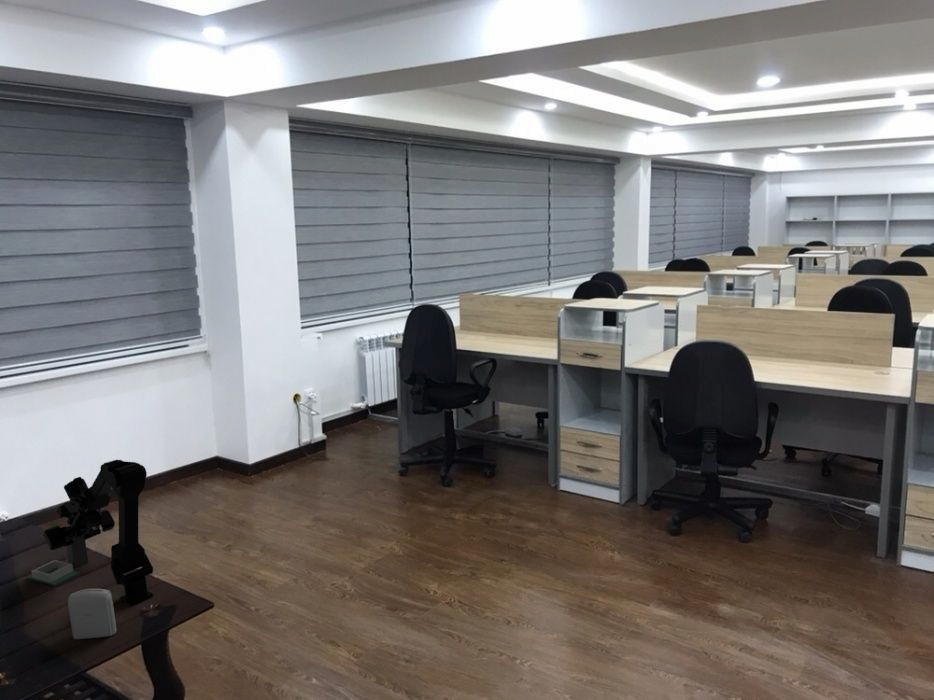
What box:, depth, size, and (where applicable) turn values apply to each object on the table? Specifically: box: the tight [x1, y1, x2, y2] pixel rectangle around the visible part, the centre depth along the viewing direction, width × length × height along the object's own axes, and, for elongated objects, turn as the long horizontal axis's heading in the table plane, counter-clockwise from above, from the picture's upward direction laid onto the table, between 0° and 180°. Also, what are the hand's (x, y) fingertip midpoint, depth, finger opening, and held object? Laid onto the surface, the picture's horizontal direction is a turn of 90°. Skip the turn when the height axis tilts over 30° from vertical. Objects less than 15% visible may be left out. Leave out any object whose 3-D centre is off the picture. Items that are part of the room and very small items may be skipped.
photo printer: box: [67, 588, 117, 640], centre depth 187 cm, size 10×4×12 cm, turn 96°
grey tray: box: [26, 559, 80, 587], centre depth 219 cm, size 12×8×3 cm, turn 66°
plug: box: [66, 525, 89, 569], centre depth 226 cm, size 4×4×12 cm
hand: (73, 542), depth 227 cm, fingers closed on plug, 4 cm apart
